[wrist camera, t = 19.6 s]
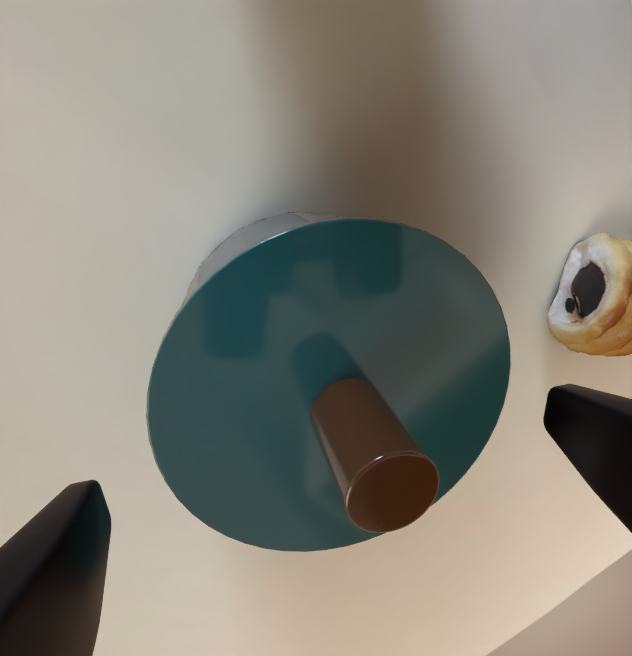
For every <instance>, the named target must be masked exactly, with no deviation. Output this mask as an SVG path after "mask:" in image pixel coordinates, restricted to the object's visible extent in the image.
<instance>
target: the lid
mask: <svg viewBox="0 0 632 656" xmlns="http://www.w3.org/2000/svg"><path fill="white" fill-rule="evenodd" d="M509 375H510V342H509V336H508V330H507V325H506V322H505V318H504V315H503V312H502V309H501V306H500V304H499V302H498V300H497V298H496V296H495V294H494V292H493V290H492V288H491V287H490V285H489V284H488V282H487V281H486V280H485V278H484V277H483V275H482V274H481V272H480V271H479V270H478V269H477V268H476V267H475V266H474V265H473V264H472V263H471V262H470V261H469V260H468V259H467V258H466V257H465V256H464V255H463V254H462V253H460V252H459V251H458V250H456V249H455V248H453V247H452V246H451V245H449V244H448V243H447V242H445V241H443V240H441V239H439V238H437V237H435V236H433V235H431V234H429V233H428V232H426V231H423V230H420V229H417V228H414V227H411V226H408V225H405V224H402V223H398V222H395V221H389V220H384V219H378V218H372V217H343V216H342V217H334V218H326V219H317V220H312V221H308V222H305V223H301V224H297V225H293V226H289V227H286V228H284V229H281V230H279V231H277V232H274V233H272V234H269V235H267V236H264V237H262V238H260V239H258V240H257V241H255V242H253V243H251V244H250V245H248V246H246V247H244V248H243V249H241V250H239V251H238V252H236V253H235V254H233V255H232V256H231V257H229V258H228V259H227V260H225V261H224V262H223V263H222V264H220V265H219V266H218V267H216V268H215V269H214V270H213V271H212V272H211V273H210V274H209V275H208V276H207V277H206V278H205V279H204V280H203V281H202V282H201V283H200V284H199V285H198V286H197V287H196V288H195V289H194V290H193V291H192V292H191V294H190V295H189V296H188V298H187V299H186V300H185V302H184V303H183V304H182V306H181V307H180V308H179V310H178V311H177V312H176V314H175V316H174V318H173V320H172V321H171V323H170V325H169V327H168V329H167V331H166V332H165V334H164V336H163V339H162V341H161V344H160V347H159V350H158V352H157V355H156V358H155V360H154V364H153V367H152V372H151V377H150V382H149V387H148V392H147V413H146V418H147V427H148V435H149V441H150V445H151V448H152V451H153V455H154V458H155V462H156V464H157V466H158V468H159V470H160V472H161V474H162V476H163V478H164V480H165V482H166V483H167V485H168V486H169V488H170V489H171V490H172V492H173V493H174V495H175V496H176V497H177V499H178V500H179V501H180V502H181V503H182V504H183V505H184V506H185V507H186V508H187V509H188V510H189V511H190V512H191V513H192V514H193V515H194V516H196V517H197V518H198V519H200V520H201V521H202V522H204V523H205V524H206V525H207V526H209V527H211V528H213V529H214V530H216V531H218V532H220V533H222V534H223V535H225V536H227V537H230V538H232V539H235V540H238V541H240V542H243V543H245V544H249V545H253V546H257V547H261V548H265V549H273V550H280V551H300V552H307V551H319V550H328V549H334V548H339V547H345V546H349V545H352V544H356V543H359V542H363V541H366V540H369V539H371V538H374V537H377V536H379V535H382V534H384V533H386V532H391V531H395V530H398V529H401V528H403V527H405V526H407V525H409V524H411V523H412V522H414V521H415V520H417V519H418V518H419V517H421V516H422V515H423V514H424V513H425V512H426V511H427V510H428V508H429V507H430V506H432V505H433V504H434V503H436V502H437V501H438V500H439V499H440V498H441V497H442V496H444V495H445V494H446V493H447V492H448V491H449V490H450V489H452V487H453V486H454V485H455V484H456V483H457V482H458V481H459V480H460V479H461V478H462V477H463V476H464V475H465V474H466V472H467V471H468V470H469V468H470V467H471V466H472V464H473V463H474V462H475V461H476V459H477V458H478V456H479V455H480V453H481V452H482V450H483V448H484V447H485V445H486V444H487V442H488V440H489V438H490V436H491V434H492V432H493V430H494V428H495V426H496V424H497V422H498V419H499V416H500V413H501V411H502V408H503V405H504V401H505V397H506V393H507V389H508V384H509Z"/></svg>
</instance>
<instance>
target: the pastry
mask: <svg viewBox="0 0 632 656" xmlns="http://www.w3.org/2000/svg"><path fill="white" fill-rule="evenodd" d="M547 321H548V327H549V330H550V332H551V334H552V335H553V336H554V338H555V339H556V340H557V341H559V342H560V343H562V344H564V345H565V346H566V347H567V348H568V349H569V350H571V351H575V352H582V353H586V354H589V355H603V356H626V355H630V354H632V240H624V239H619V238H615V237H612V236H611V235H609V234H608V233H600V234H595V235H593V236H591V237H590V238H588V239H587V240H583V241H581V242H579V243H578V244H576V245H575V246H574V248H573V249H572V250H571V252H570V255H569V257H568V260H567V262H566V265H565V267H564V270H563V273H562V277H561V280H560V285H559V290H558V293H557V295H556V297H555V299H554V300H553V303H552V305H551V307H550V309H549V311H548V314H547Z"/></svg>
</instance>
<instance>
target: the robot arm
mask: <svg viewBox="0 0 632 656" xmlns="http://www.w3.org/2000/svg"><path fill="white" fill-rule="evenodd" d="M544 426H545V428H546V430H547V432H548V433H549V434H550V436H551V437H552V438H553V440H554V441H555V442H556V443H557V445H558V446H559V447H560V449H561V450H562V451H563V453H564V454H565V455H566V456H567V458H568V459H569V460H570V462H571V463H572V464H573V465H574V467H575V468H576V469H577V471H578V472H579V473H580V474H581V476H582V477H583V478H584V480H585V481H586V482H587V483H588V485H589V486H590V487H591V488H592V490H593V491H594V492H595V493H596V494H597V495H598V497H599V498H600V499H601V500H602V501H603V502H604V503H605V504H606V505H607V507H608V508H609V509H610V510H611V511H612V512H613V513H614V514H615V515H616V516H617V517H618V519H619V520H620V521H621V522H622V523H623V524H624V525H625V526H626V527H627V528H628V529H629V531H630V532H631V533H632V399H629V398H625V397H621V396H617V395H613V394H609V393H605V392H601V391H597V390H593V389H589V388H585V387H581V386H577V385H573V384H565V385H561V386H556V387H553V388H551V389H550V391H549V393H548V397H547V402H546V408H545V413H544ZM110 535H111V516H110V513H109V510H108V507H107V504H106V501H105V498H104V495H103V492H102V489H101V486H100V484H99V483H98V482H97V481H95V480H88V481H83V482H78V483H74V484H71V485H69V486H68V487H66V488H65V489H64V490H63V491H62V492H61V493H60V494H58V495H57V496H56V497H55V498H54V499H53V500H52V501H51V502H50V503H49V504H48V505H46V506H45V507H44V508H43V509H42V510H41V511H40V512H39V513H38V514H37V515H35V516H34V517H33V518H32V519H31V520H30V521H29V522H28V523H27V524H26V525H25V526H23V527H22V528H21V529H20V530H19V531H18V532H17V533H16V534H15V535H14V536H13V537H11V538H10V539H9V540H8V541H7V542H6V543H5V544H4V545H3V546H2V547H0V656H92V655H93V651H94V646H95V642H96V637H97V633H98V628H99V623H100V616H101V609H102V601H103V593H104V585H105V576H106V568H107V560H108V551H109V543H110Z"/></svg>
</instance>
